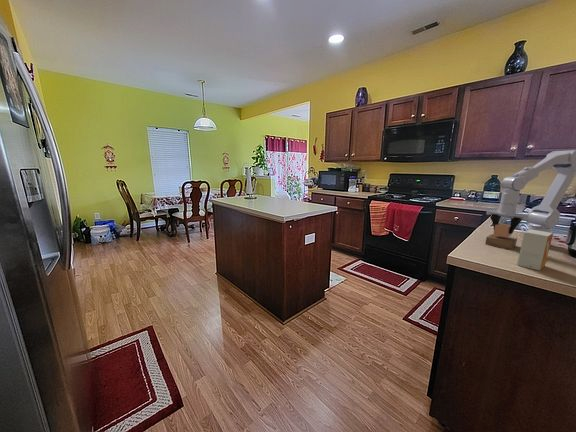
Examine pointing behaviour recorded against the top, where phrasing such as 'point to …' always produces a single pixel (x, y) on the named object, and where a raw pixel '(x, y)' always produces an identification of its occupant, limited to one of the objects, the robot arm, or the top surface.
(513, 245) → the walnut block
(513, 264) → the top surface
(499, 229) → the terracotta cube
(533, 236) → the small box
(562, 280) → the top surface
